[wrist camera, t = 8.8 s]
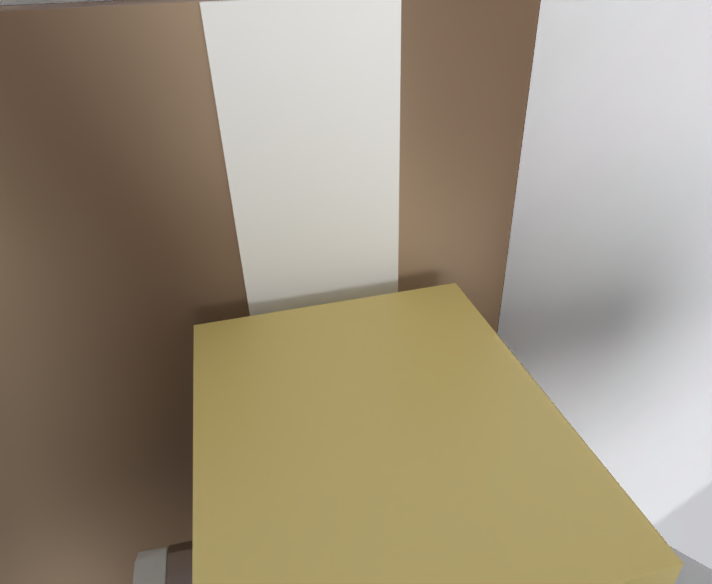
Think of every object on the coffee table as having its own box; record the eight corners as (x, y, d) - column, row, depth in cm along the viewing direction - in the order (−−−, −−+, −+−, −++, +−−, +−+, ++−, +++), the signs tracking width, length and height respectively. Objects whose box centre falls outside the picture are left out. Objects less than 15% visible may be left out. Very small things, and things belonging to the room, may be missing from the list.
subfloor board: (-61, 669, 16) (-86, 737, 15) (-629, 35, 7) (-835, 53, 6) (447, 538, 19) (467, 584, 18) (500, -18, 10) (549, -15, 9)
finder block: (247, 558, 13) (280, 936, 8) (193, 325, 10) (191, 744, 4) (438, 510, 14) (575, 821, 9) (455, 282, 11) (702, 586, 5)
